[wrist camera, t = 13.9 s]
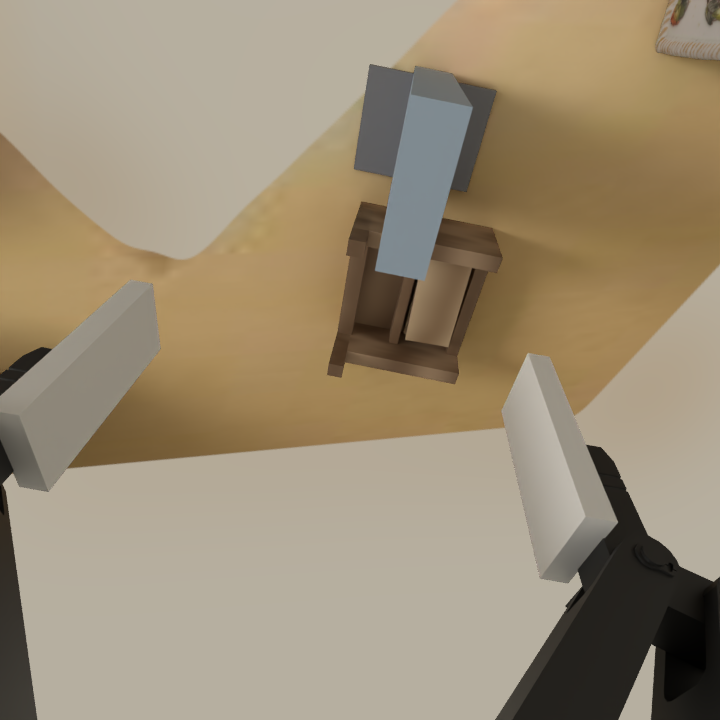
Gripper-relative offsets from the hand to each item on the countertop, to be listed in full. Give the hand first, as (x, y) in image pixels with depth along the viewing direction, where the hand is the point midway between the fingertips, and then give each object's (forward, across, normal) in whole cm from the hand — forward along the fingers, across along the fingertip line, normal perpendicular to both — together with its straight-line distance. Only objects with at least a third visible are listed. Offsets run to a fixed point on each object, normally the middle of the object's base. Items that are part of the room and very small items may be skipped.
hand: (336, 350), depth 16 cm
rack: (+25, +4, -9) cm, 27 cm away
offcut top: (+22, +7, -8) cm, 25 cm away
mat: (+25, +3, +4) cm, 25 cm away
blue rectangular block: (+24, +2, +3) cm, 25 cm away
